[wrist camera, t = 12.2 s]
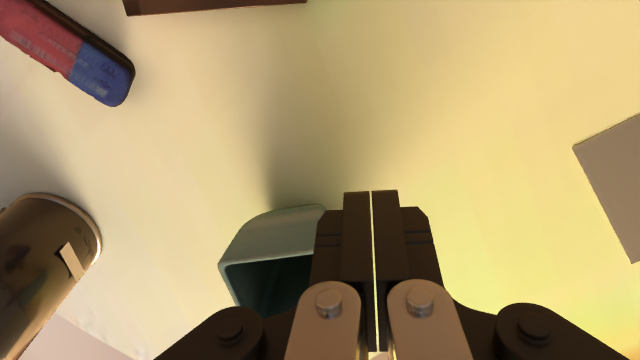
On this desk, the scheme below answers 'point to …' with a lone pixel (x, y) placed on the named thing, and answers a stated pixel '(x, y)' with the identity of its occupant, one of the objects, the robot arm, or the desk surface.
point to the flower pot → (272, 259)
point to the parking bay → (194, 5)
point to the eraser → (67, 49)
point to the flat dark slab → (616, 179)
